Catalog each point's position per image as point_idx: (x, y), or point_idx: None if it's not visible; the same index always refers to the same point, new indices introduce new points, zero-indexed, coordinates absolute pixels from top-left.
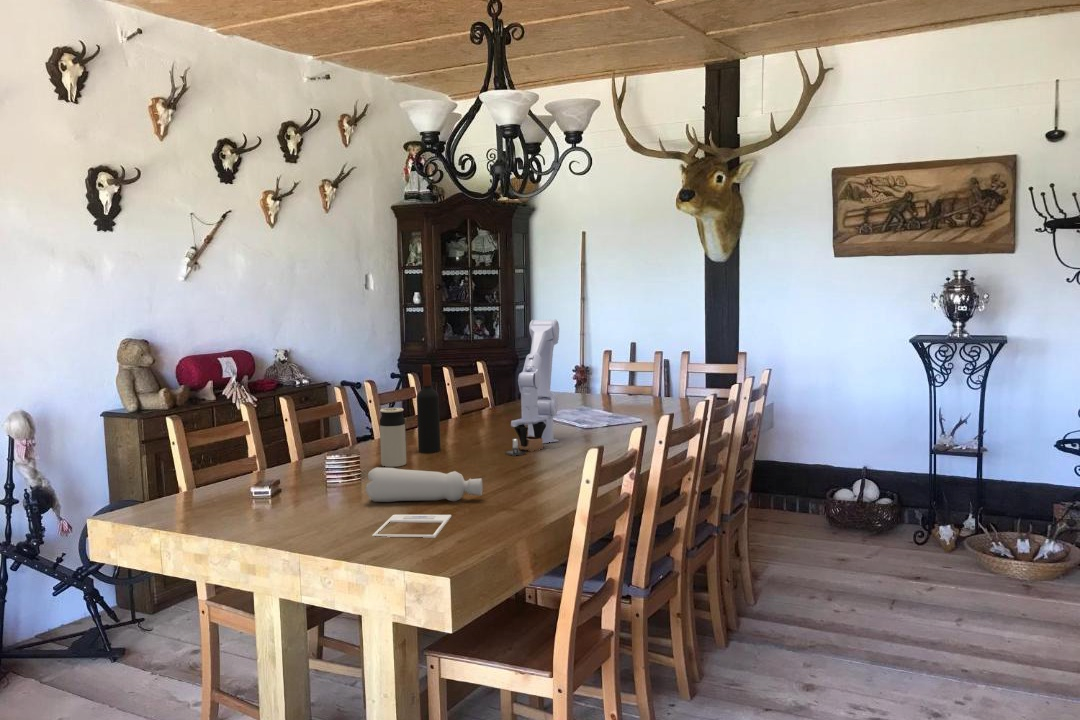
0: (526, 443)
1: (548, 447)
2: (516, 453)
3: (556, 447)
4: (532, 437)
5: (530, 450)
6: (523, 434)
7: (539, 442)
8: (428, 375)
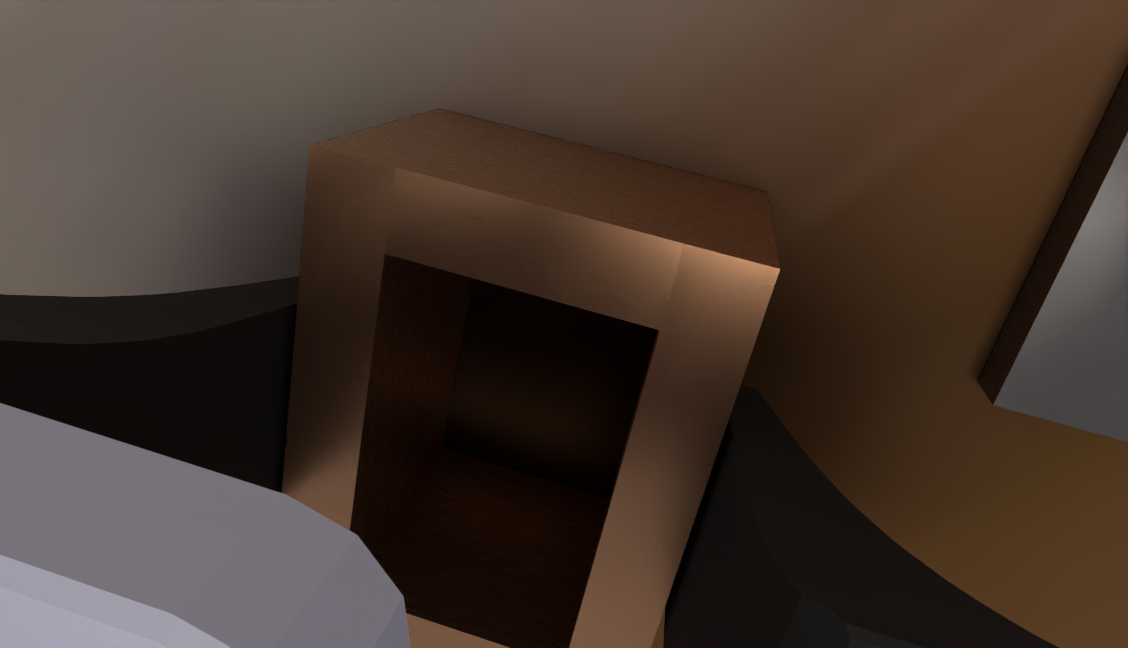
0: None
1: (204, 178)
2: None
3: (95, 36)
4: (359, 498)
5: (763, 197)
6: (910, 555)
7: (463, 155)
8: None
